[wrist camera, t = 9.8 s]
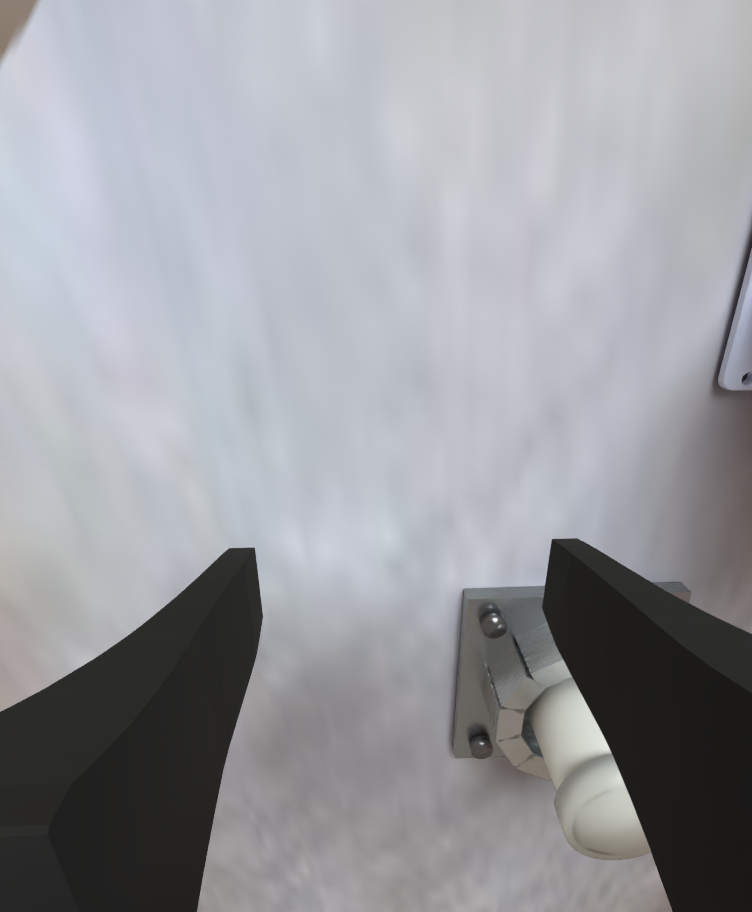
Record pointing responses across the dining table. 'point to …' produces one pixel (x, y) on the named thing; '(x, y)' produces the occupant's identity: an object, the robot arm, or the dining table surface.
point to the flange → (508, 673)
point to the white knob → (585, 777)
